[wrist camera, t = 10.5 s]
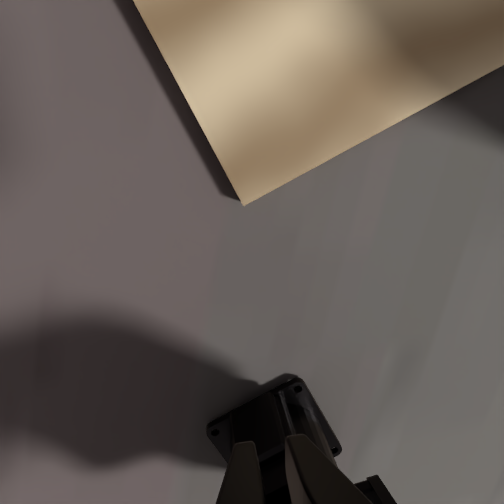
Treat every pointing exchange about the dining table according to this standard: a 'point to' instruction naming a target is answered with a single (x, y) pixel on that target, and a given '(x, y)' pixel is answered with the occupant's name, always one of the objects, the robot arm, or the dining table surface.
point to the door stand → (315, 72)
